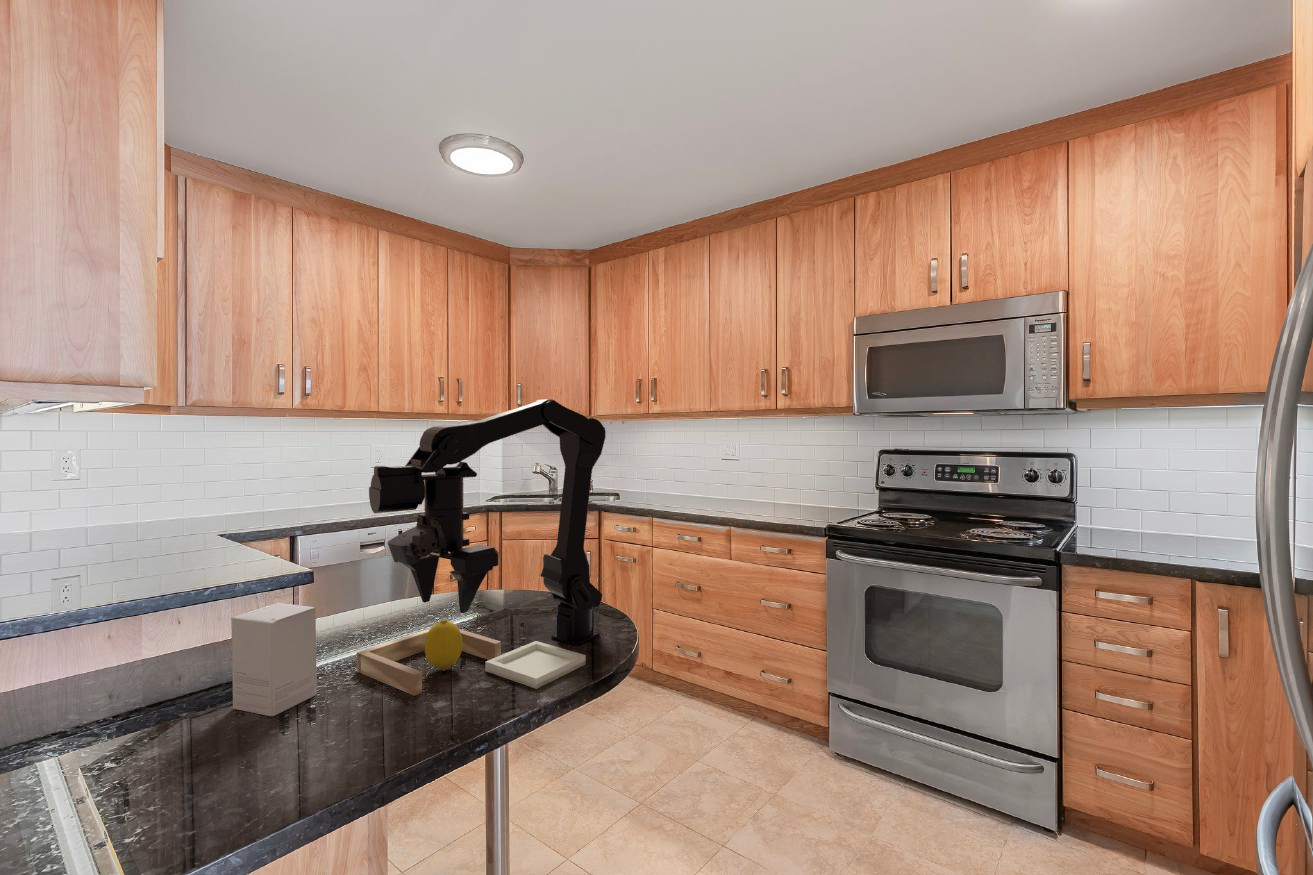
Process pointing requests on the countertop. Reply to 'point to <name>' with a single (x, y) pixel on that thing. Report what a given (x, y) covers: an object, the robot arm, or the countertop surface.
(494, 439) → the robot arm
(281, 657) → the supplement box
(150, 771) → the countertop surface
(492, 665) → the dish
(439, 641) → the lemon
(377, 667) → the u-shaped wooden frame
